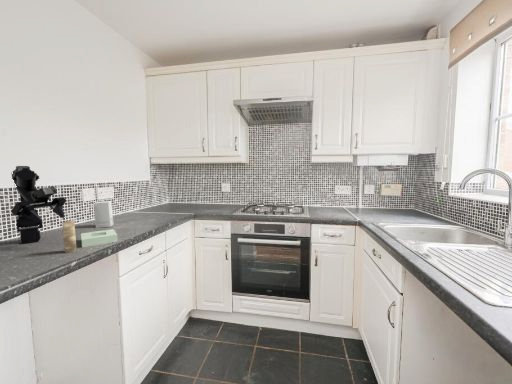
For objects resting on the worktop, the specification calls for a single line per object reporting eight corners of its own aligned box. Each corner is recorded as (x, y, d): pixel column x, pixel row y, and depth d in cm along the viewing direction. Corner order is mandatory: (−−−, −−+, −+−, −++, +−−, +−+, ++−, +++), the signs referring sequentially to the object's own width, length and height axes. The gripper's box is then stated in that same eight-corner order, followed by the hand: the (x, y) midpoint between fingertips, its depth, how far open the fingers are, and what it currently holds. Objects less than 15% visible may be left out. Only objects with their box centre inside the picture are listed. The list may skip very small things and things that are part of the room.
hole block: (82, 247, 106) (81, 239, 105) (81, 240, 117) (81, 233, 116) (117, 241, 114) (117, 234, 114) (114, 235, 125) (113, 229, 125)
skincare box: (113, 224, 150) (112, 200, 149) (110, 227, 144) (108, 202, 143) (98, 225, 148) (97, 201, 147) (94, 228, 142) (93, 202, 140)
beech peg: (64, 253, 98) (62, 223, 97) (64, 250, 101) (62, 221, 100) (76, 251, 100) (74, 221, 99) (76, 248, 104) (74, 220, 102)
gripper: (13, 182, 92) (38, 210, 91) (61, 180, 110) (83, 203, 109) (0, 201, 94) (24, 229, 93) (49, 196, 112) (70, 219, 111)
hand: (53, 219), depth 101 cm, fingers open, 9 cm apart
